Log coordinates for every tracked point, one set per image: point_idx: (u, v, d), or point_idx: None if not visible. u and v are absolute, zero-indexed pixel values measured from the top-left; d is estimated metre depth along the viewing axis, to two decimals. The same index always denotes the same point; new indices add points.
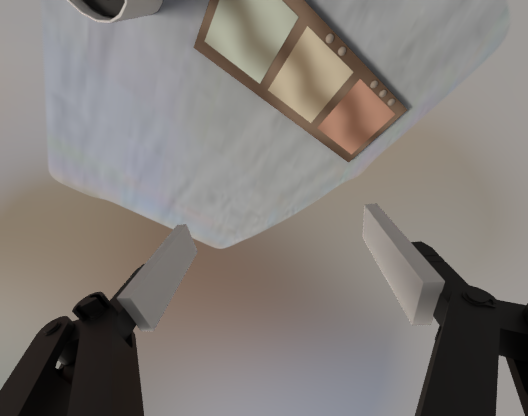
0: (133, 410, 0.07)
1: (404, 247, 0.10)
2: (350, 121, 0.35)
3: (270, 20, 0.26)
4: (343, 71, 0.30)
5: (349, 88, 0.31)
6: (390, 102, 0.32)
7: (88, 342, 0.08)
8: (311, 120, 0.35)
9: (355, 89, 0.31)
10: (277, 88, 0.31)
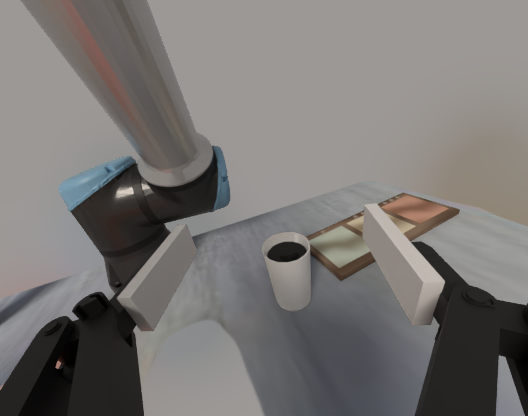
0: (133, 410, 0.07)
1: (404, 247, 0.10)
2: (413, 209, 0.45)
3: (338, 235, 0.42)
4: None
5: (386, 210, 0.47)
6: (397, 197, 0.51)
7: (88, 342, 0.08)
8: (413, 225, 0.41)
9: (387, 208, 0.47)
10: None
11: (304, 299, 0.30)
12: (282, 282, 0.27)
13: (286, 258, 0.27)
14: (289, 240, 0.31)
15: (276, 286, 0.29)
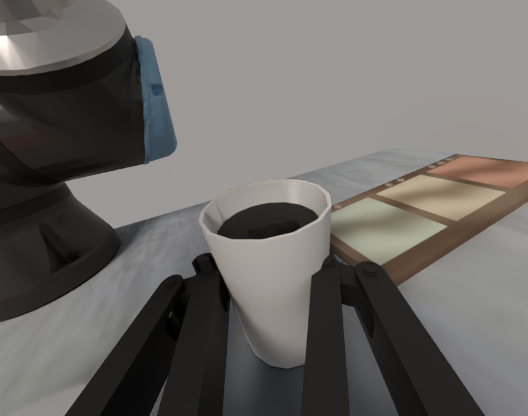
0: (217, 377, 0.08)
1: None
2: (485, 172, 0.28)
3: (366, 211, 0.24)
4: (420, 178, 0.29)
5: (438, 175, 0.29)
6: (449, 159, 0.33)
7: (197, 295, 0.09)
8: (499, 191, 0.23)
9: (439, 173, 0.30)
10: (450, 212, 0.21)
11: None
12: (251, 301, 0.10)
13: (263, 234, 0.10)
14: (278, 200, 0.14)
15: (238, 308, 0.11)
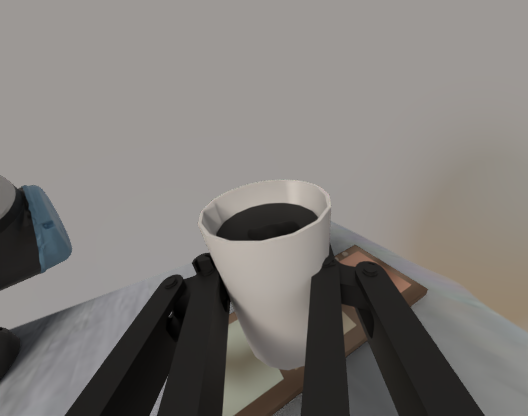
0: (217, 377, 0.08)
1: None
2: None
3: (237, 337, 0.26)
4: None
5: None
6: (345, 254, 0.35)
7: (197, 295, 0.09)
8: (352, 323, 0.25)
9: None
10: None
11: None
12: (250, 303, 0.10)
13: (262, 235, 0.10)
14: (277, 201, 0.14)
15: (237, 310, 0.11)
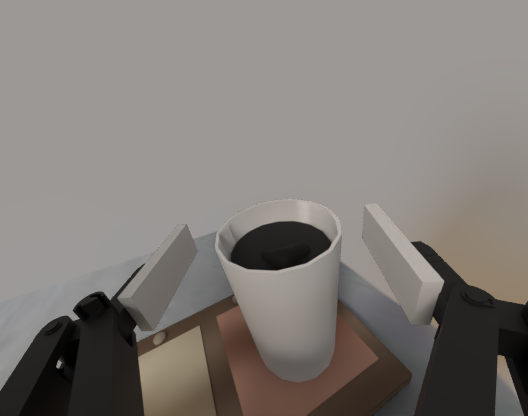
0: (134, 410, 0.07)
1: (403, 247, 0.10)
2: None
3: None
4: (186, 340, 0.17)
5: (217, 336, 0.17)
6: None
7: (89, 342, 0.08)
8: None
9: (227, 326, 0.17)
10: None
11: (321, 358, 0.12)
12: (264, 323, 0.10)
13: (276, 259, 0.10)
14: (287, 219, 0.14)
15: (251, 327, 0.11)
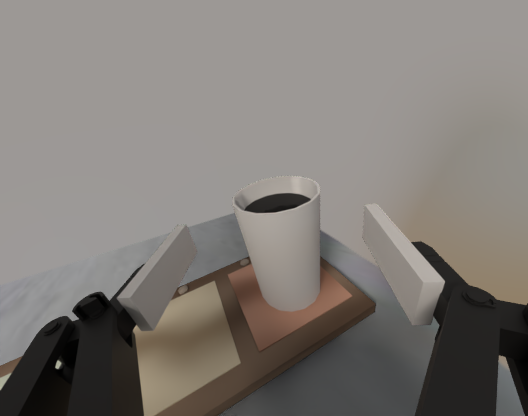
0: (133, 410, 0.07)
1: (404, 247, 0.10)
2: None
3: None
4: (204, 290, 0.21)
5: (228, 287, 0.21)
6: None
7: (88, 342, 0.08)
8: (236, 359, 0.15)
9: (237, 280, 0.22)
10: None
11: (308, 291, 0.17)
12: (267, 257, 0.15)
13: (275, 212, 0.14)
14: (284, 191, 0.19)
15: (257, 265, 0.16)
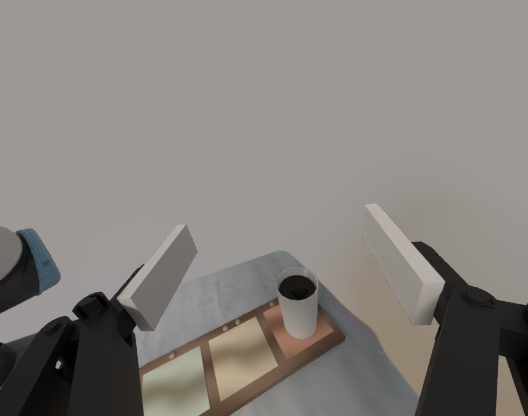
0: (133, 410, 0.07)
1: (404, 247, 0.10)
2: None
3: (184, 368, 0.32)
4: (251, 322, 0.37)
5: (265, 321, 0.37)
6: None
7: (88, 342, 0.08)
8: (275, 363, 0.31)
9: (269, 317, 0.38)
10: (226, 387, 0.29)
11: (310, 329, 0.33)
12: (292, 315, 0.31)
13: (296, 294, 0.30)
14: (299, 274, 0.34)
15: (286, 317, 0.32)
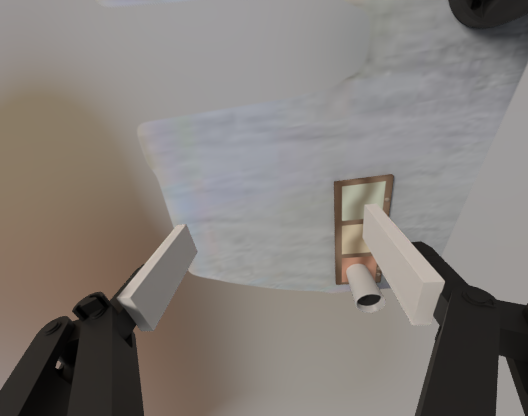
0: (133, 410, 0.07)
1: (404, 247, 0.10)
2: None
3: None
4: None
5: (370, 255, 0.54)
6: (378, 274, 0.56)
7: (88, 342, 0.08)
8: (343, 253, 0.54)
9: (371, 258, 0.54)
10: (346, 229, 0.50)
11: (347, 277, 0.55)
12: (356, 284, 0.50)
13: (363, 297, 0.48)
14: (377, 303, 0.49)
15: (359, 278, 0.51)
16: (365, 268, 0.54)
